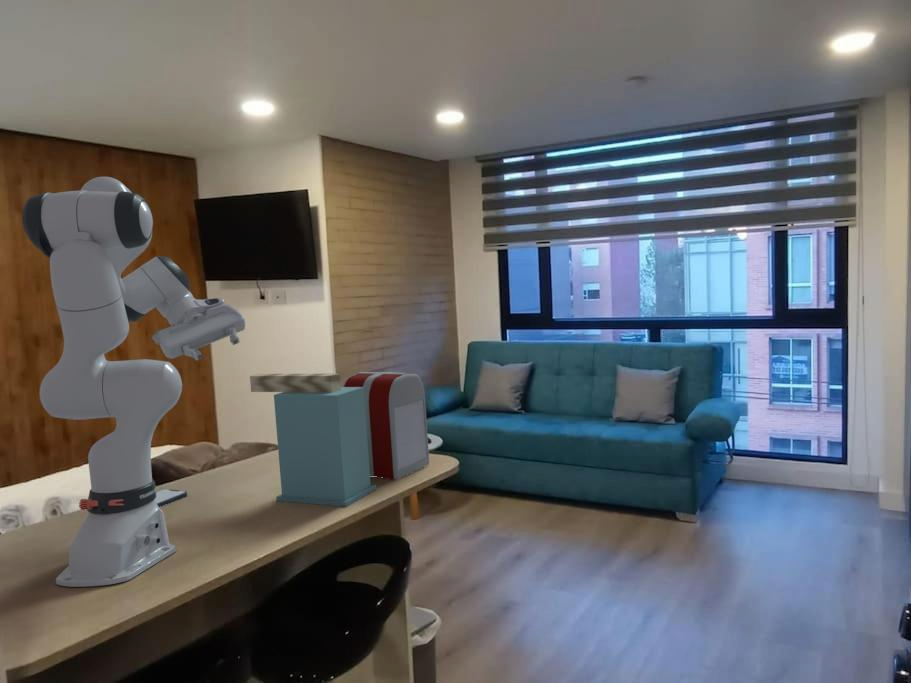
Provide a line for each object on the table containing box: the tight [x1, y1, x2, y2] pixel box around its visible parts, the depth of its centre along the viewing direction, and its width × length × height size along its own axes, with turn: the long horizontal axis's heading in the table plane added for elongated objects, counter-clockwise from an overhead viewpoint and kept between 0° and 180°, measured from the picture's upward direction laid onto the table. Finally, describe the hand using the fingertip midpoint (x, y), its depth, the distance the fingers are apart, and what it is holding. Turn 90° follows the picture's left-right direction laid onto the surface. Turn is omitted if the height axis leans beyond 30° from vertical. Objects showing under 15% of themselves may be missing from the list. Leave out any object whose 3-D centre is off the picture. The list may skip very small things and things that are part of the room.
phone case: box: [155, 488, 188, 508], centre depth 176 cm, size 9×2×16 cm
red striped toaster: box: [342, 371, 430, 480], centre depth 195 cm, size 16×18×27 cm
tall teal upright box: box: [273, 386, 377, 507], centre depth 174 cm, size 20×14×26 cm
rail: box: [249, 373, 342, 393], centre depth 175 cm, size 24×4×4 cm, turn 67°
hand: (218, 349), depth 166 cm, fingers open, 8 cm apart
